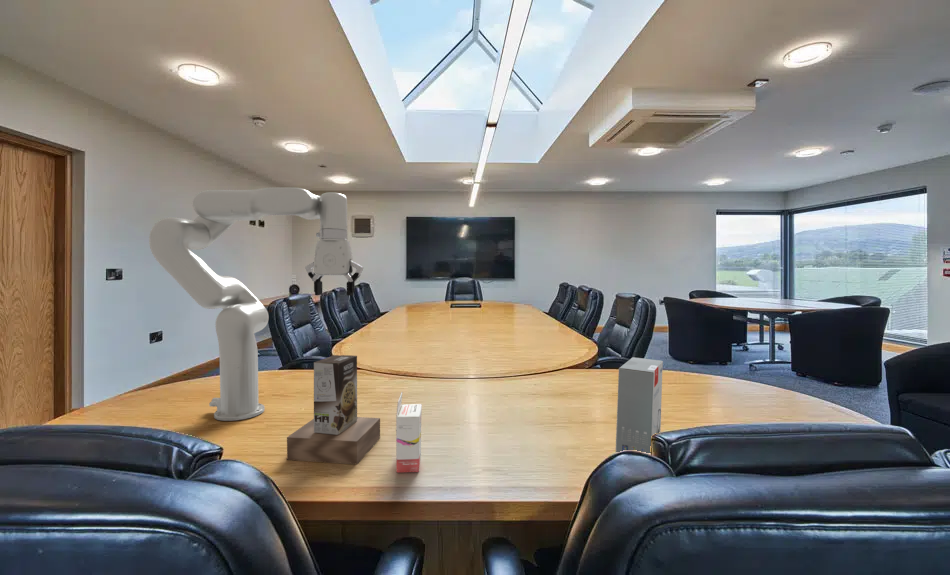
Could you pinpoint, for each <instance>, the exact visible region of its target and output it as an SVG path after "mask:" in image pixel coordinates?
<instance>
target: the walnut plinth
mask: <svg viewBox="0 0 950 575" xmlns="http://www.w3.org/2000/svg"><path fill="white" fill-rule="evenodd" d="M380 439H381V418H380V417H367V416H366V417H365V416H364V417H362V416H357V421H356V422H355V423H354V424H352V425H351V426H350V427H348V428H347V429H346V430H344V431H343V432H341V433H340V434H339V435H333V434H323V433H314V418H313V419H311V420H310V421H308V422H307V423H305V424H304V425H303V426H301V427H300V428H298V429H297V430H295V431H294V432H293V433H291V434H290V435H288V436H287V437H286V458H287V460H288V461H300V462H317V463H331V464H332V463H333V464H346V465H347V464H348V465H358V464H359V463H360V462H361V461H362V459H363V458H364V457H365V456H366V455H367V454H368V452H369V451H370V450H371V449H372V448H373V447H374V446H375V444H377V442H378V441H380ZM373 445H374V446H373Z"/></svg>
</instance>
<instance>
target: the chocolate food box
mask: <svg viewBox="0 0 950 575" xmlns="http://www.w3.org/2000/svg"><path fill="white" fill-rule="evenodd" d="M357 417H358V355H348V354H347V355H346V354H345V355H338V354H337V355H336V354H334V355H330V356H329V357H328V356H327V357H325V358H322V359H320V360H319V359H318V360H317V361H314V362H313V419H314V433H323V434H333V435H339V434H340V433H341V432H343V431H344V430H346V429H347V428H348V427H350V426H351V425H352V424H354V423H355V422H356V421H357Z"/></svg>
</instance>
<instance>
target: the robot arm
mask: <svg viewBox="0 0 950 575" xmlns="http://www.w3.org/2000/svg"><path fill="white" fill-rule="evenodd" d="M192 208H193V210H194V212H195V213H196V214H197V215H198V216H197V217H196V218H195V219H194V220H193V219H188V218H182V217H175V216H172V217H169V216H168V217H165V218H162V219H160V220H157V221H156V222H155V223H154V224H153V226H152V227H151V230H150V232H149V237H148V238H149V239H148V241H149V242H148V243H149V248H150V252H151V254H152V255H153V257H154V258H155V260H156V261H157V263H158V264H159V265H160V266H161V267H162V268H163V269H164V270H165V271H166V272H167V273H168V274H169V275H171V277H172V278H173V279H174V280H175V281H176V282H177V283H178V284H179V286H181V288H183V290H185V291H186V293H187V294H188V295H189V296H190V297H191V298H192V299H193V301H195V302H196V304H197V305H199V306H200V307H201V308H203V309H206V310H207V309H208V310H215V309H216V310H217V309H222V310H220V312H219V313H218V315H217V316H216V319H215V332H216V337H217V343H218V352H219V354H218V356H219V389H220V390H219V391H220V392H219V393H220V394H219V396H220V397H213V398H212V399H211V401H210V402H209V407H211V408H212V407H215V408H216V411H215V412H214V413H213V418H214V419H215V420H217V421H224V422H233V421H235V422H236V421H241V420H246V419H251V418H254V417H257V416H260V414H263V413H264V412H265V410H266V409H265V405H264V404H262V403H259V358H258V357H259V355H258V353H259V352H258V346H257V345H258V344H257V339H256V336H255V334H256V333H258V332H261V331H262V330H263V329H265V328H266V327H267V325H268V323H269V317H270V316H269V311H268V310H267V308H266V307H265V305H264V304H263V303H262V302H261V301H260V300H259V299H258V298H257V297H256V296H255V295H254V293H252V291H250V289H249V288H248V287H247V286H246V285H245V284H244V283H243V282H242V281H240V280H238V279H237V278H235V277H234V276H230V275H220V274H217V273H216V272H215V271H214V270H212V268H211V267H209V265H208V264H207V263H206V262H205V261H204V260H203V259H202V258H201V257H199V256H198V255H197V254H196V253H194V252H193V251H195V250H196V251H201V250H204V249H207V248H208V247H209V246H211V245H213V243H214V242H216V241H217V240H218V239H219V238H220V237H221V236H222V235H224V233H226V232H227V231H228V230H229V229H230V228H231V227H232V226H233V225H234V224H235V223H236V222H237V221H259V220H261V219H262V218H263V217H268V216H297V217H299V218H301V219H304V220H309V221H310V220H311V221H314V220H319V232H316V233H315V237H316V238H319V239H320V240H317V241H316V245H315V250H314V258H313V260H314V261H313V262H311V263H309V264H307V265H306V266H305V267H304V268H305V271H306V272H307V273H306V274H307V275H308V277H309V278H310V279H311V281H312V282H313V292H314V295H315V296H323V281H322V279H323V278H324V276H344V277H345V278H346V279H347V282H346V296H348V297H350V296H354V293H355V291H356V290H355V289H356V288H355V282H356V281H357V280H358V278H360V276H361V274H362V272H363V270H364V266H362V265H360V264H359V263H357V262H355V261H353V255H352V254H353V253H352V247H351V243H350V241H349V240H348V198H347V196H346V195H345V194H342V193H339V192H325V193H322V194H321V195H316V194H314V193H312V192H310V191H309V190H308V189H306V188H302V187H292V186H291V187H288V186H286V187H281V186H278V187H277V186H276V187H275V186H274V187H272V186H271V187H264V188H256V189H207V190H202V191H199V192H198V193H196V194H195V195H194V197H193V198H192ZM192 250H193V251H192ZM354 269H355V272H354V274H353V270H354Z"/></svg>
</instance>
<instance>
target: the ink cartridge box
mask: <svg viewBox="0 0 950 575" xmlns="http://www.w3.org/2000/svg"><path fill="white" fill-rule="evenodd" d="M402 400H403V391H401V393H400V396H399V397H398V401H397V406H396V415H395V416H396V417H395V420H396V421H395V422H396V423H395V425H396V429H395V430H396V431H395V432H396V433H395V436H396V437H395V438H396V442H395V443H396V445H395V446H396V453H395V454H396V463H395V464H396V465H395V466H396V471H395V472H396V473H398V474H399V473H419V472H420V466H421V464H420V463H421V456H422V414H423V413H422V412H423V411H422V410H423V409H422V408H423V405H422V403H411V404H409V403H408V404H406V403H405V404H402Z"/></svg>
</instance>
